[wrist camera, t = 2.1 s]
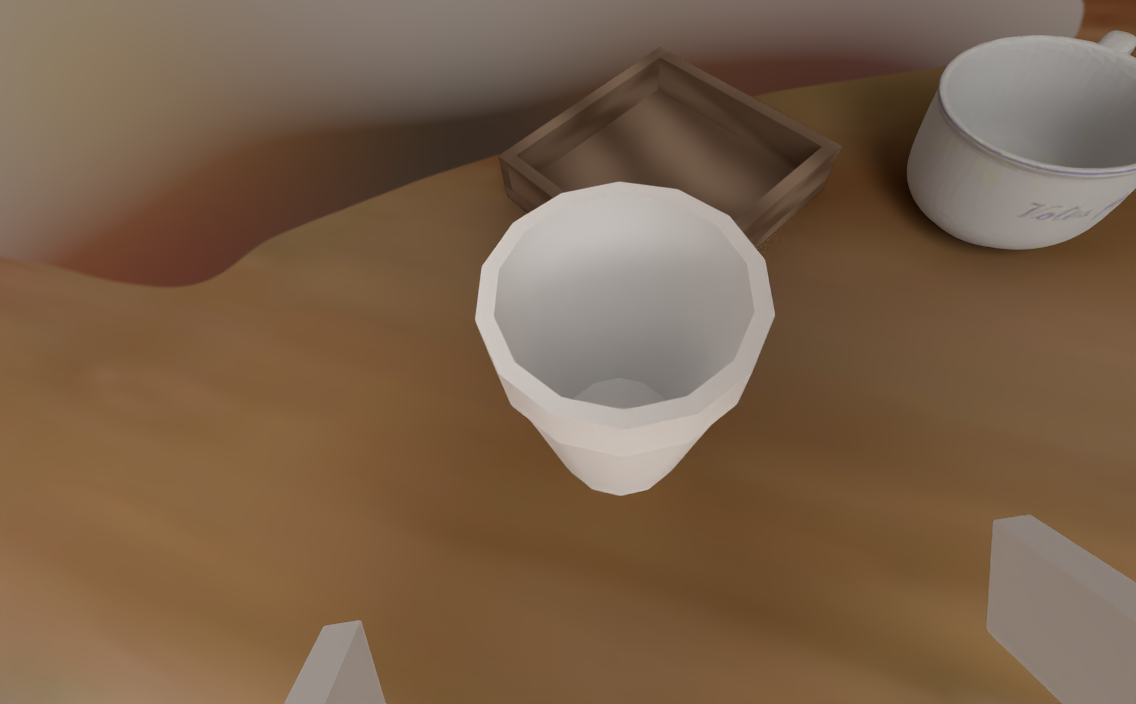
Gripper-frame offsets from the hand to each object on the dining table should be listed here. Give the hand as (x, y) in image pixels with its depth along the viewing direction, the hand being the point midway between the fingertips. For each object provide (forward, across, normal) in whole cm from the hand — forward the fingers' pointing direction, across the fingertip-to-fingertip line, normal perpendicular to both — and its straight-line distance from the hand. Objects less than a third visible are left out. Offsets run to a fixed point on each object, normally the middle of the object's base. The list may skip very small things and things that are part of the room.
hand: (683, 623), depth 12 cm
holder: (+29, +6, +8) cm, 31 cm away
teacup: (+26, +26, +5) cm, 37 cm away
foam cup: (+17, +1, -4) cm, 18 cm away
